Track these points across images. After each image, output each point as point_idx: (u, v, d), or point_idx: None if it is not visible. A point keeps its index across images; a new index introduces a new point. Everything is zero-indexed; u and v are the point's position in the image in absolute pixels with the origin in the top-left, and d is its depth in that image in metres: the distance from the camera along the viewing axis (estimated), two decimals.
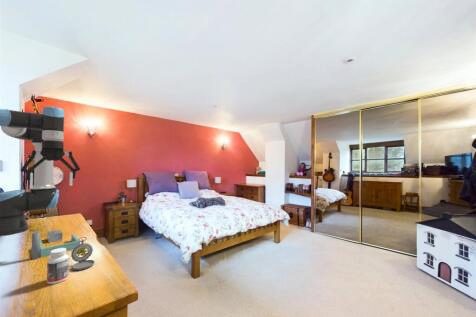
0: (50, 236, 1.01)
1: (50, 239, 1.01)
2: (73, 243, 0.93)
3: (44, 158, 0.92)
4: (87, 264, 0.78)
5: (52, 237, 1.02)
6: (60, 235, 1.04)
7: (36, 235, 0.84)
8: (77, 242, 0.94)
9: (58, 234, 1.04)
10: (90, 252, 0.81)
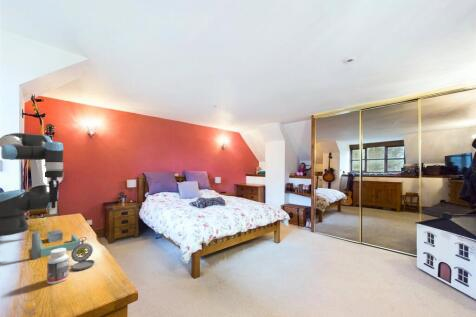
0: (50, 236, 1.01)
1: (50, 239, 1.01)
2: (73, 243, 0.93)
3: (49, 186, 1.12)
4: (87, 264, 0.78)
5: (52, 237, 1.02)
6: (60, 235, 1.04)
7: (36, 235, 0.84)
8: (77, 242, 0.94)
9: (58, 234, 1.04)
10: (90, 252, 0.81)
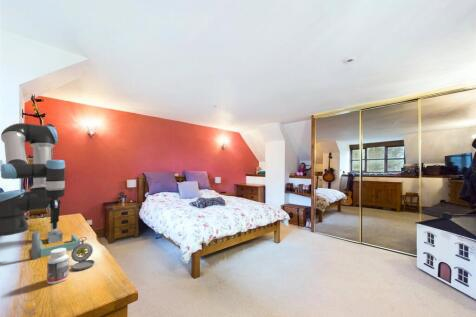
0: (50, 236, 1.00)
1: (50, 239, 1.00)
2: (73, 243, 0.93)
3: (50, 206, 1.07)
4: (87, 264, 0.78)
5: (52, 237, 1.01)
6: (60, 235, 1.03)
7: (36, 235, 0.84)
8: (77, 242, 0.94)
9: (58, 234, 1.03)
10: (90, 252, 0.81)
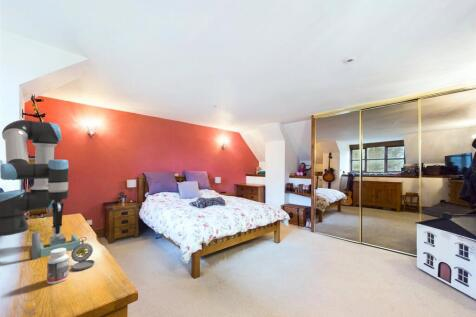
0: (53, 242, 0.93)
1: (53, 245, 0.93)
2: (73, 243, 0.93)
3: (52, 209, 1.00)
4: (87, 264, 0.78)
5: (55, 243, 0.94)
6: (63, 241, 0.96)
7: (36, 235, 0.84)
8: (77, 242, 0.94)
9: (61, 240, 0.95)
10: (90, 252, 0.81)
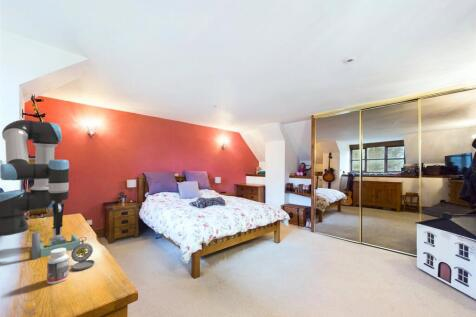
0: (53, 243, 0.92)
1: None
2: (73, 243, 0.93)
3: None
4: (87, 264, 0.78)
5: (55, 244, 0.92)
6: (64, 242, 0.95)
7: (36, 235, 0.84)
8: (77, 242, 0.94)
9: (61, 241, 0.94)
10: (90, 252, 0.81)
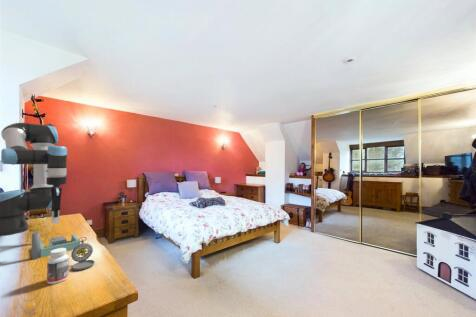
0: (53, 243, 0.92)
1: None
2: (73, 243, 0.93)
3: (51, 194, 1.04)
4: (87, 264, 0.78)
5: (55, 244, 0.92)
6: (64, 242, 0.95)
7: (36, 235, 0.84)
8: (77, 242, 0.94)
9: (62, 241, 0.94)
10: (90, 252, 0.81)
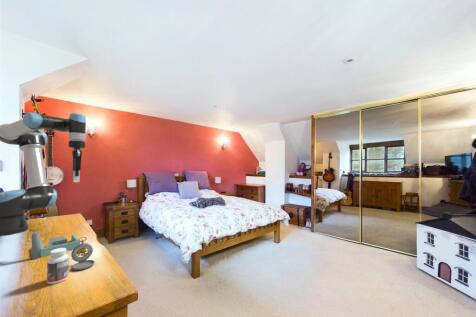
0: (54, 243, 0.92)
1: None
2: (73, 243, 0.93)
3: None
4: (87, 264, 0.78)
5: (56, 244, 0.93)
6: (65, 242, 0.95)
7: (36, 235, 0.84)
8: (77, 242, 0.94)
9: (62, 241, 0.94)
10: (90, 252, 0.81)
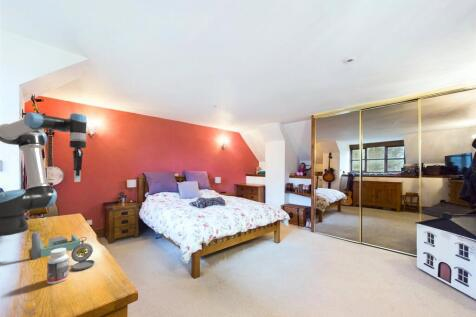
0: (54, 243, 0.92)
1: None
2: (73, 243, 0.93)
3: (73, 156, 1.19)
4: (87, 264, 0.78)
5: (56, 244, 0.93)
6: (65, 242, 0.95)
7: (36, 235, 0.84)
8: (77, 242, 0.94)
9: (63, 241, 0.95)
10: (90, 252, 0.81)
